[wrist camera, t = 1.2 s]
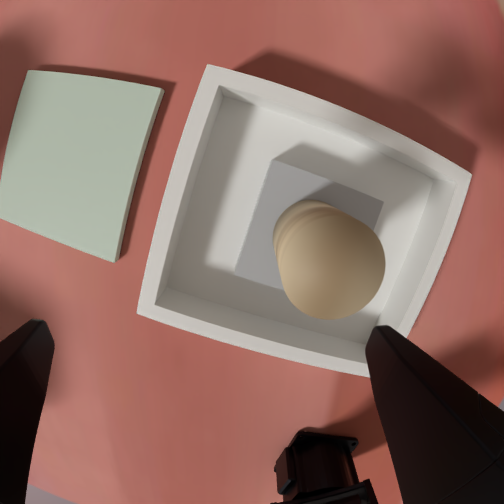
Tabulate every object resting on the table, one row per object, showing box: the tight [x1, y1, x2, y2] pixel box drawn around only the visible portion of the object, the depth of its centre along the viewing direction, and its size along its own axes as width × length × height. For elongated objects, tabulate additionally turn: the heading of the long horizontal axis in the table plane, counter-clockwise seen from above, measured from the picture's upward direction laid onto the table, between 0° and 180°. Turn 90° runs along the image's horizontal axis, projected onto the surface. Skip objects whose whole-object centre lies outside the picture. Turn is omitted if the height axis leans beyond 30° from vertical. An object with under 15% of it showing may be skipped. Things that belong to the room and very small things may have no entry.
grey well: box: [136, 64, 472, 377], centre depth 19 cm, size 17×15×4 cm
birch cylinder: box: [273, 200, 386, 320], centre depth 16 cm, size 4×4×6 cm
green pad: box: [0, 70, 165, 263], centre depth 19 cm, size 12×12×1 cm
